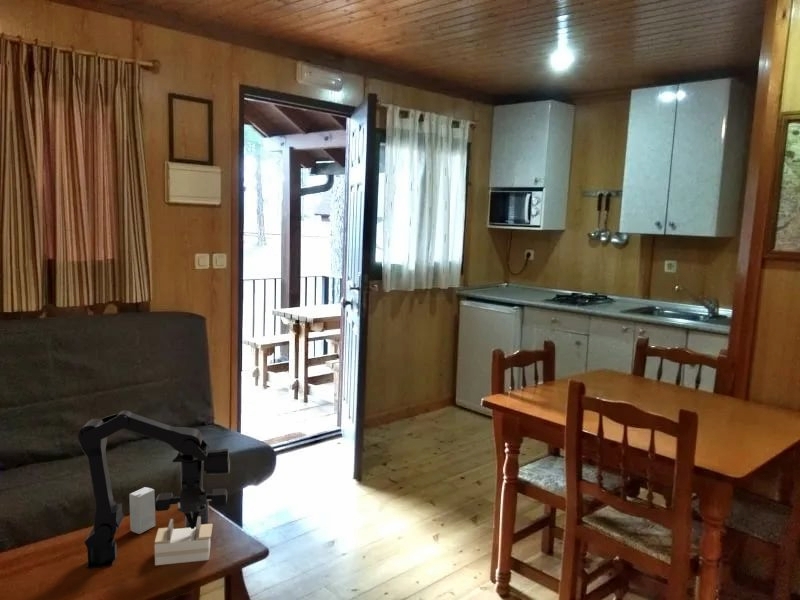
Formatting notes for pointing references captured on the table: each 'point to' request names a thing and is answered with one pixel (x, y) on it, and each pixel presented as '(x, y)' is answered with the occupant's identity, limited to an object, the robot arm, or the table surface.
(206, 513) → the supplement bottle
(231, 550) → the table surface
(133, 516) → the skincare box
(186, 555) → the carton
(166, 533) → the flap near
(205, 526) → the flap far
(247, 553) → the table surface
